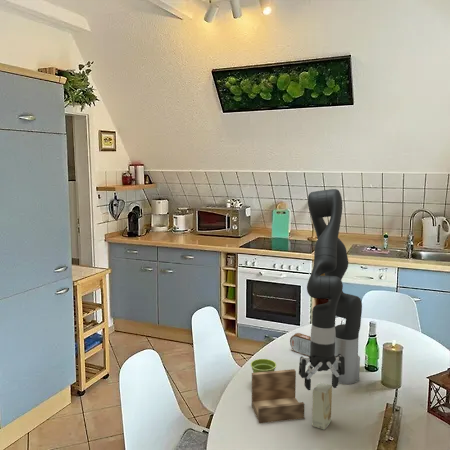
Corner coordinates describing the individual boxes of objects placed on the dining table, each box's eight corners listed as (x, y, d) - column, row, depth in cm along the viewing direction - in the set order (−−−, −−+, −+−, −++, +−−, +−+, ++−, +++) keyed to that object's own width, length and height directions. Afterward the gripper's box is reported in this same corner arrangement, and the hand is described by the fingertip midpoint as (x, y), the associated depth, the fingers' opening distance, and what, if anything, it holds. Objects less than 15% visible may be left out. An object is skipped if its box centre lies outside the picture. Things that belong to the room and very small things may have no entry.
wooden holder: (293, 401, 160) (294, 369, 159) (304, 418, 150) (304, 383, 148) (251, 406, 158) (251, 372, 156) (259, 423, 148) (259, 387, 146)
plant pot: (274, 393, 166) (275, 371, 165) (248, 391, 168) (248, 368, 167) (277, 381, 175) (277, 359, 174) (252, 379, 177) (252, 357, 176)
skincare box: (324, 430, 143) (325, 393, 142) (311, 426, 146) (312, 389, 144) (331, 420, 149) (332, 384, 147) (318, 416, 151) (319, 381, 149)
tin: (322, 358, 195) (323, 339, 194) (318, 360, 193) (319, 341, 192) (292, 348, 205) (293, 330, 204) (288, 350, 203) (289, 332, 202)
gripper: (339, 333, 148) (337, 381, 150) (297, 335, 146) (295, 384, 148) (349, 342, 141) (347, 392, 143) (304, 344, 139) (303, 395, 141)
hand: (321, 388), depth 146 cm, fingers open, 8 cm apart
